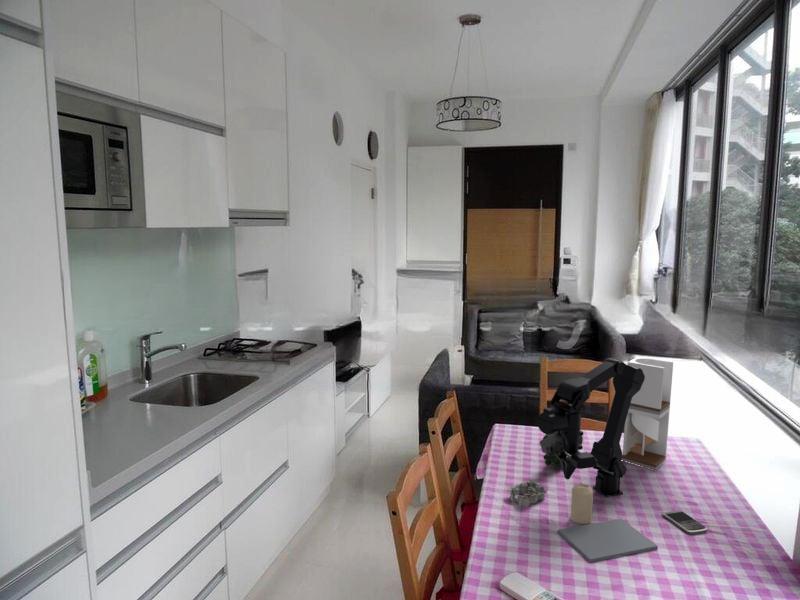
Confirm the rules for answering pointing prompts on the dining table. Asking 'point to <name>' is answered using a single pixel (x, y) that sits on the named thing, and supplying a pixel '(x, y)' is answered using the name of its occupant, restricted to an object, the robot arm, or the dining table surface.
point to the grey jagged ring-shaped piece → (531, 497)
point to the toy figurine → (554, 458)
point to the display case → (649, 415)
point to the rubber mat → (606, 540)
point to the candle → (581, 504)
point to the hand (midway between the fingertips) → (567, 478)
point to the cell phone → (685, 522)
